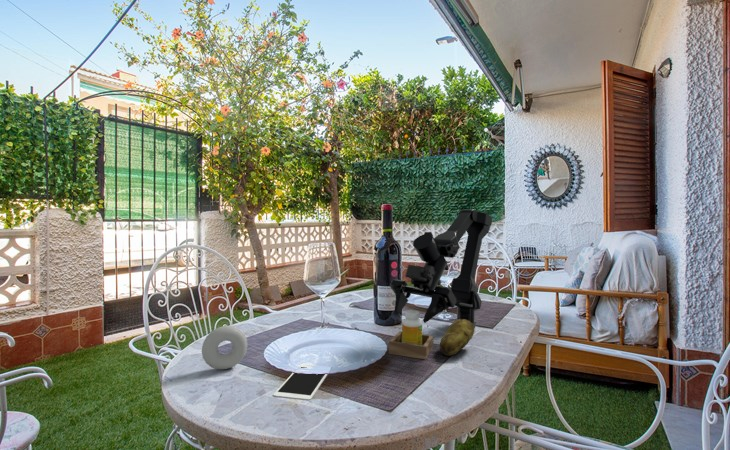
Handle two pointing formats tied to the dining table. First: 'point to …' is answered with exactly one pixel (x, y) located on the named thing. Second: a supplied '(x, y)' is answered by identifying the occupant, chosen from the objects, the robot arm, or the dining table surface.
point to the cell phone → (300, 385)
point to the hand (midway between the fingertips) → (409, 318)
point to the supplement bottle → (412, 328)
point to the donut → (229, 359)
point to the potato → (456, 336)
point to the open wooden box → (411, 347)
